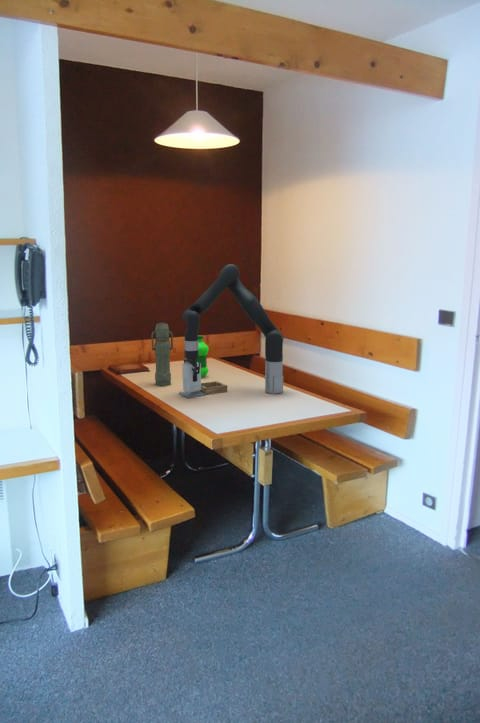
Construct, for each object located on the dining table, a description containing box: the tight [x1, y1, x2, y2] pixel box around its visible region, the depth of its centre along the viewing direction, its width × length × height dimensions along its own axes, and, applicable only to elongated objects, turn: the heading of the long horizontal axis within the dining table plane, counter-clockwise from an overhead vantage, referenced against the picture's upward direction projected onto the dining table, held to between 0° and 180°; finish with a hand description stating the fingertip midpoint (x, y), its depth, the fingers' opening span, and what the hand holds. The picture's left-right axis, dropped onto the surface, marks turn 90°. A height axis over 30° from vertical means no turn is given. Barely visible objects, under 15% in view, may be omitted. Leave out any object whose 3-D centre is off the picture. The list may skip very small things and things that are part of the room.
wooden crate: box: [198, 380, 228, 396], centre depth 312 cm, size 11×13×4 cm
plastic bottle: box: [196, 334, 210, 379], centre depth 343 cm, size 10×10×25 cm
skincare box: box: [181, 362, 202, 392], centre depth 302 cm, size 8×6×15 cm
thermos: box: [151, 322, 174, 387], centre depth 323 cm, size 9×12×35 cm
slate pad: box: [178, 390, 206, 399], centre depth 304 cm, size 10×10×1 cm
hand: (191, 380), depth 302 cm, fingers closed on skincare box, 6 cm apart
